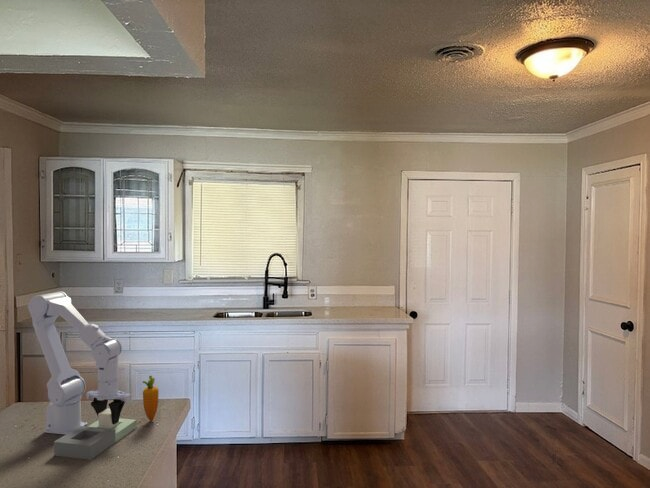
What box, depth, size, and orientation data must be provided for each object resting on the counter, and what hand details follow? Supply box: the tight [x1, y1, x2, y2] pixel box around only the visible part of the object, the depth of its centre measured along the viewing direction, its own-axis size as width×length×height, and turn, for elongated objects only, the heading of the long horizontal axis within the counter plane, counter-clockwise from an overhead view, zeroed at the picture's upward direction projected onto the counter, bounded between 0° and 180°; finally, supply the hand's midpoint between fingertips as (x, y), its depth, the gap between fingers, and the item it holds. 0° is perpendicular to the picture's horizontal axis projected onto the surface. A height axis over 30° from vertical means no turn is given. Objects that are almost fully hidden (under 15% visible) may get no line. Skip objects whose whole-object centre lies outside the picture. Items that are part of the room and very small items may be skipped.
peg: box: [97, 407, 119, 429], centre depth 136 cm, size 4×4×6 cm
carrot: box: [142, 375, 159, 422], centre depth 144 cm, size 5×5×15 cm
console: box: [53, 417, 137, 461], centre depth 132 cm, size 20×12×4 cm, turn 168°
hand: (109, 422), depth 136 cm, fingers closed on peg, 4 cm apart
